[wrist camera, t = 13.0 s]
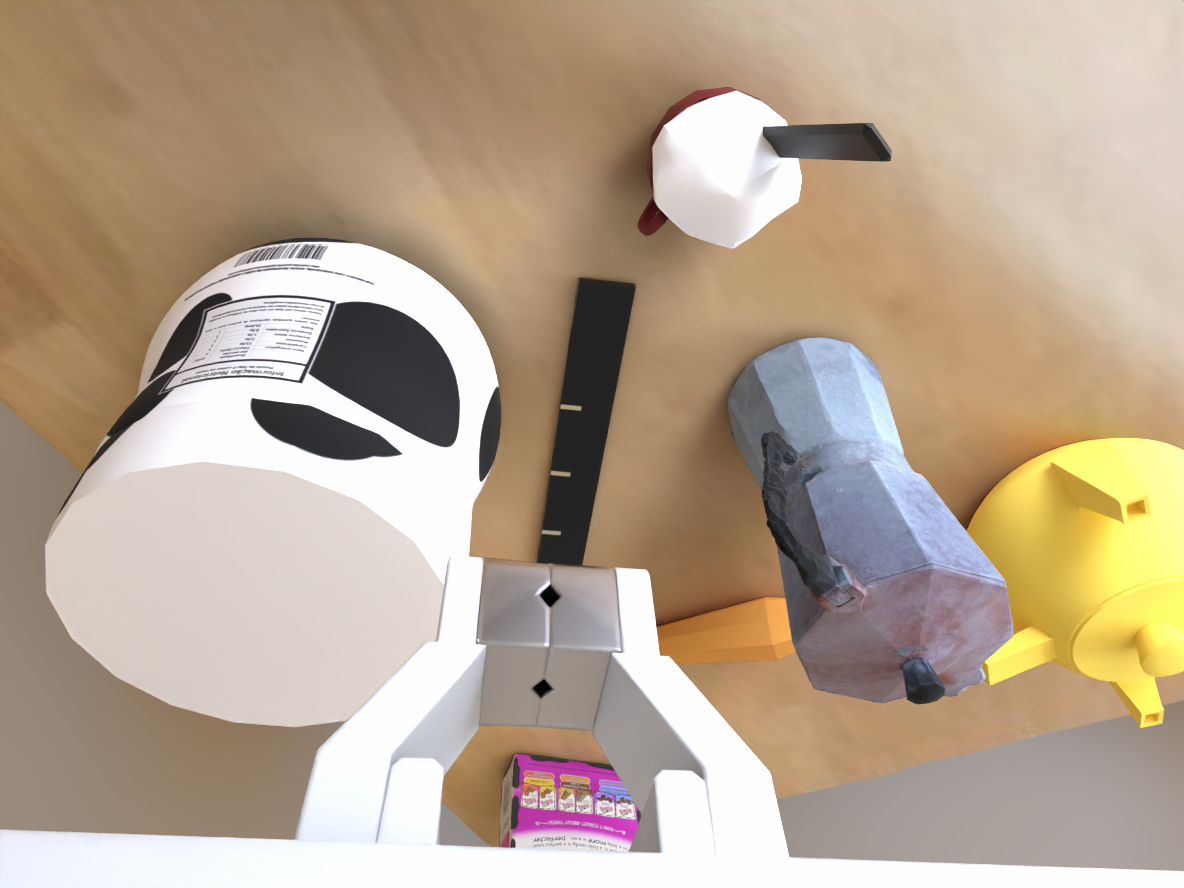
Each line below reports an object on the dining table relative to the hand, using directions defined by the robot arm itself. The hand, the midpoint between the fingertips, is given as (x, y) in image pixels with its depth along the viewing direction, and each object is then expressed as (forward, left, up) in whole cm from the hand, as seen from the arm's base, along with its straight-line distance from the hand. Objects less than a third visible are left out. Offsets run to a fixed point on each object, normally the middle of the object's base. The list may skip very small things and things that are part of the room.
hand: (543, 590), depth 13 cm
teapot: (+23, +37, -31) cm, 54 cm away
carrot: (+37, +12, -31) cm, 50 cm away
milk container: (+17, -9, -31) cm, 37 cm away
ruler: (+23, +4, -31) cm, 39 cm away
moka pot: (+16, +16, -31) cm, 39 cm away
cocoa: (+2, +8, -31) cm, 32 cm away
